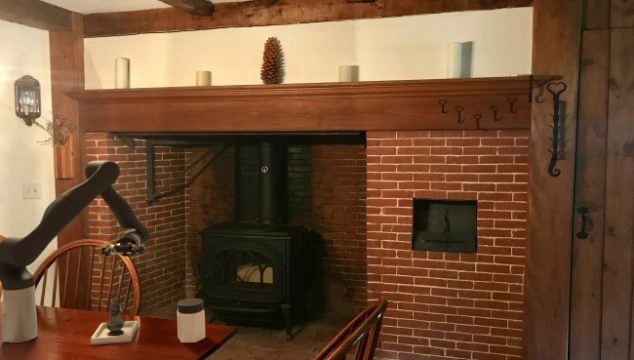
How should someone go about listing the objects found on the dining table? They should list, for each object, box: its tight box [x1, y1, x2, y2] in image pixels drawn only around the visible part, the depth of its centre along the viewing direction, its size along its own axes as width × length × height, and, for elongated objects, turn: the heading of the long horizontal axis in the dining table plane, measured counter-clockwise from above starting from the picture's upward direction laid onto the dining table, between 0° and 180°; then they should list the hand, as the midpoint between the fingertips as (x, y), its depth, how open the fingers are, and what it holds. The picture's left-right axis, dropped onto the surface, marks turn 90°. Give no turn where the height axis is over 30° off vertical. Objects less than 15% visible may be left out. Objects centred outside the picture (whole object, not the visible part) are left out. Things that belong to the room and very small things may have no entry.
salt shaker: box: [105, 297, 126, 336], centre depth 173 cm, size 6×6×12 cm
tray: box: [90, 320, 139, 346], centre depth 173 cm, size 12×14×2 cm
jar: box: [176, 298, 206, 344], centre depth 170 cm, size 9×8×12 cm
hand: (119, 253), depth 182 cm, fingers open, 8 cm apart
